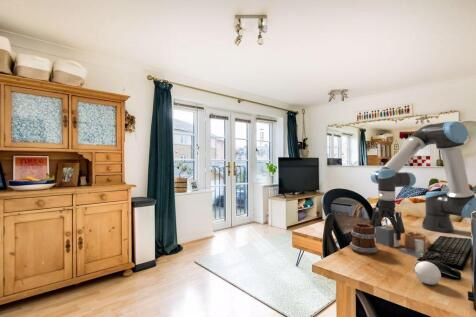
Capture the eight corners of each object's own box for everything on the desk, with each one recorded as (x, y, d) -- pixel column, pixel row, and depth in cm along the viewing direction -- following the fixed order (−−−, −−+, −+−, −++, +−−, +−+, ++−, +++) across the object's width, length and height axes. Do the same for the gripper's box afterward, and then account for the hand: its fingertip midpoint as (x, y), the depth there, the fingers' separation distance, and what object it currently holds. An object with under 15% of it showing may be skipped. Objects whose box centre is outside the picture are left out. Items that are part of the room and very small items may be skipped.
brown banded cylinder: (344, 250, 116) (346, 217, 118) (356, 248, 125) (358, 218, 127) (371, 257, 107) (373, 222, 109) (381, 254, 117) (383, 222, 119)
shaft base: (414, 247, 120) (414, 235, 120) (440, 256, 110) (440, 242, 110) (399, 251, 116) (399, 238, 116) (424, 259, 105) (424, 245, 105)
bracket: (423, 252, 114) (423, 238, 114) (402, 248, 120) (402, 234, 120) (430, 243, 127) (430, 230, 127) (410, 239, 133) (410, 226, 133)
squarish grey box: (385, 240, 131) (385, 224, 131) (398, 244, 124) (398, 228, 124) (375, 242, 128) (375, 226, 128) (388, 246, 122) (388, 229, 122)
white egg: (415, 276, 91) (415, 256, 91) (441, 282, 86) (441, 261, 86) (411, 286, 83) (411, 265, 83) (440, 294, 79) (440, 271, 79)
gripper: (362, 196, 135) (362, 237, 135) (403, 203, 114) (403, 251, 114) (372, 195, 138) (372, 235, 138) (414, 202, 117) (414, 249, 117)
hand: (386, 242), depth 126 cm, fingers open, 10 cm apart
